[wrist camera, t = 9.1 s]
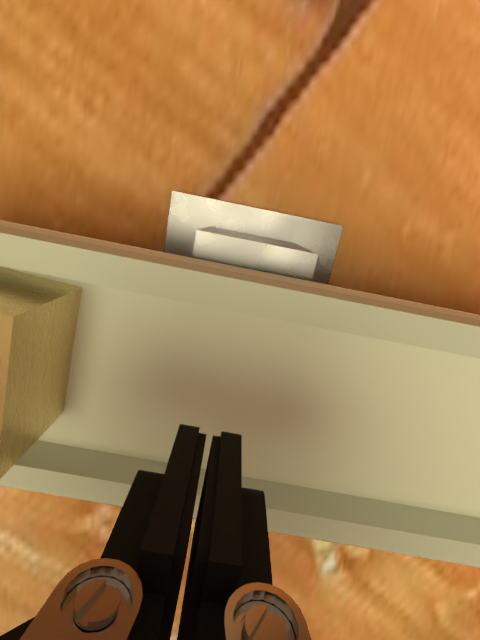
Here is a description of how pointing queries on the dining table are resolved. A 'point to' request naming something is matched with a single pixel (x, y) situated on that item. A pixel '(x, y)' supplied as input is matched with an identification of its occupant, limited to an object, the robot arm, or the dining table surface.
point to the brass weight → (33, 357)
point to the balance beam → (264, 393)
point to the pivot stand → (251, 238)
